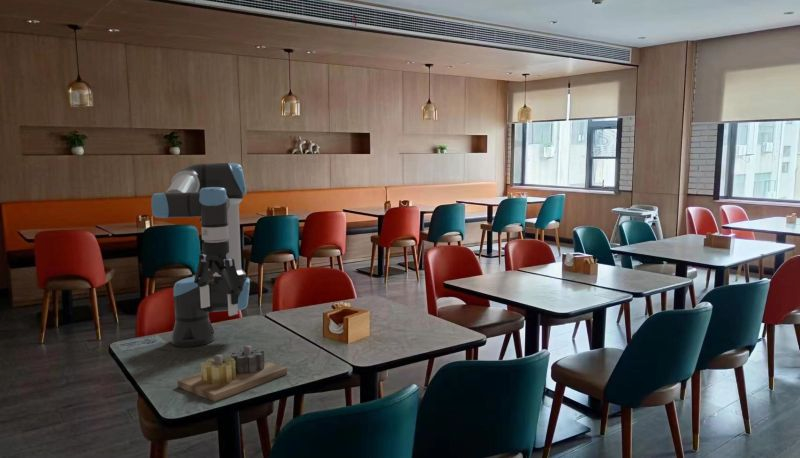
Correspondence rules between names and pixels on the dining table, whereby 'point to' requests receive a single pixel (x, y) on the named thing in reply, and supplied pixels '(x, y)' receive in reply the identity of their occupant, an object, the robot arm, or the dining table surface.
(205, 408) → the dining table surface
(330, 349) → the dining table surface
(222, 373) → the brass gear
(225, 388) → the gear board
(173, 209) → the robot arm
